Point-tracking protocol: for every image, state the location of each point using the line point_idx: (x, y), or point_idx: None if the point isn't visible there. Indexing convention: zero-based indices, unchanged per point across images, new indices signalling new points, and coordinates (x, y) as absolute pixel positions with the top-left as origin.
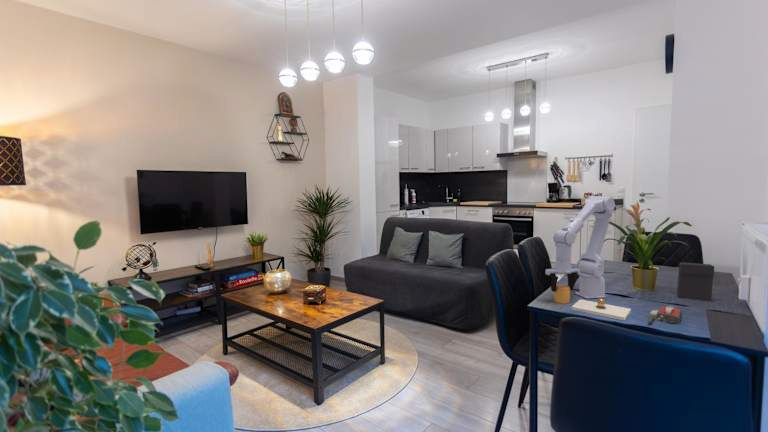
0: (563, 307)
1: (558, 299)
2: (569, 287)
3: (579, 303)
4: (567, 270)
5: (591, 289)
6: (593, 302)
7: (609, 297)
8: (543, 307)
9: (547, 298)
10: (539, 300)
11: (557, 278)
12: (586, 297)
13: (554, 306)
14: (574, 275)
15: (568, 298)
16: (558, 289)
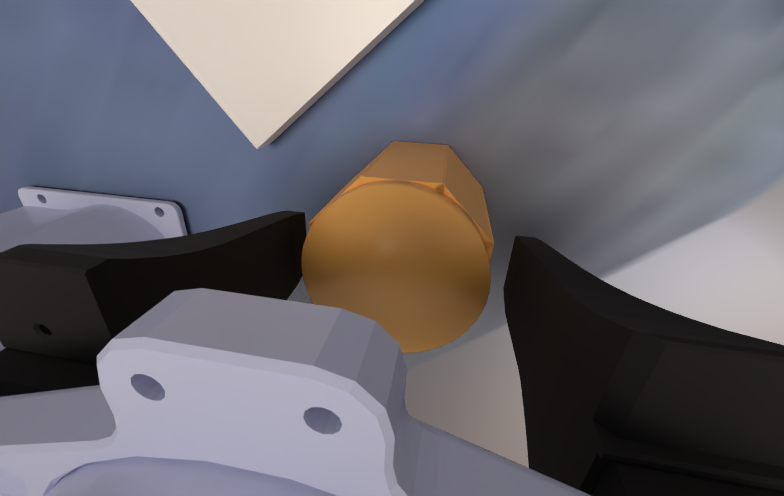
0: (538, 28)
1: (477, 188)
2: (329, 206)
3: (337, 19)
4: (215, 489)
5: (68, 236)
6: (174, 18)
7: (3, 186)
8: (766, 82)
9: None
10: None
11: (623, 321)
12: (171, 206)
13: (607, 85)
14: (100, 289)
15: (386, 149)
16: (486, 235)
